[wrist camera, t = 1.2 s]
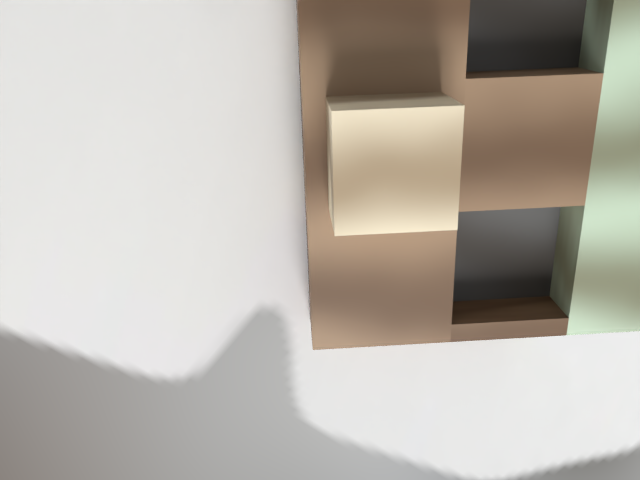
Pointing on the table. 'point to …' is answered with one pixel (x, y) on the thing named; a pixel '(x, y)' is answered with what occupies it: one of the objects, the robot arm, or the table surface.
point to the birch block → (394, 162)
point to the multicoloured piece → (485, 170)
